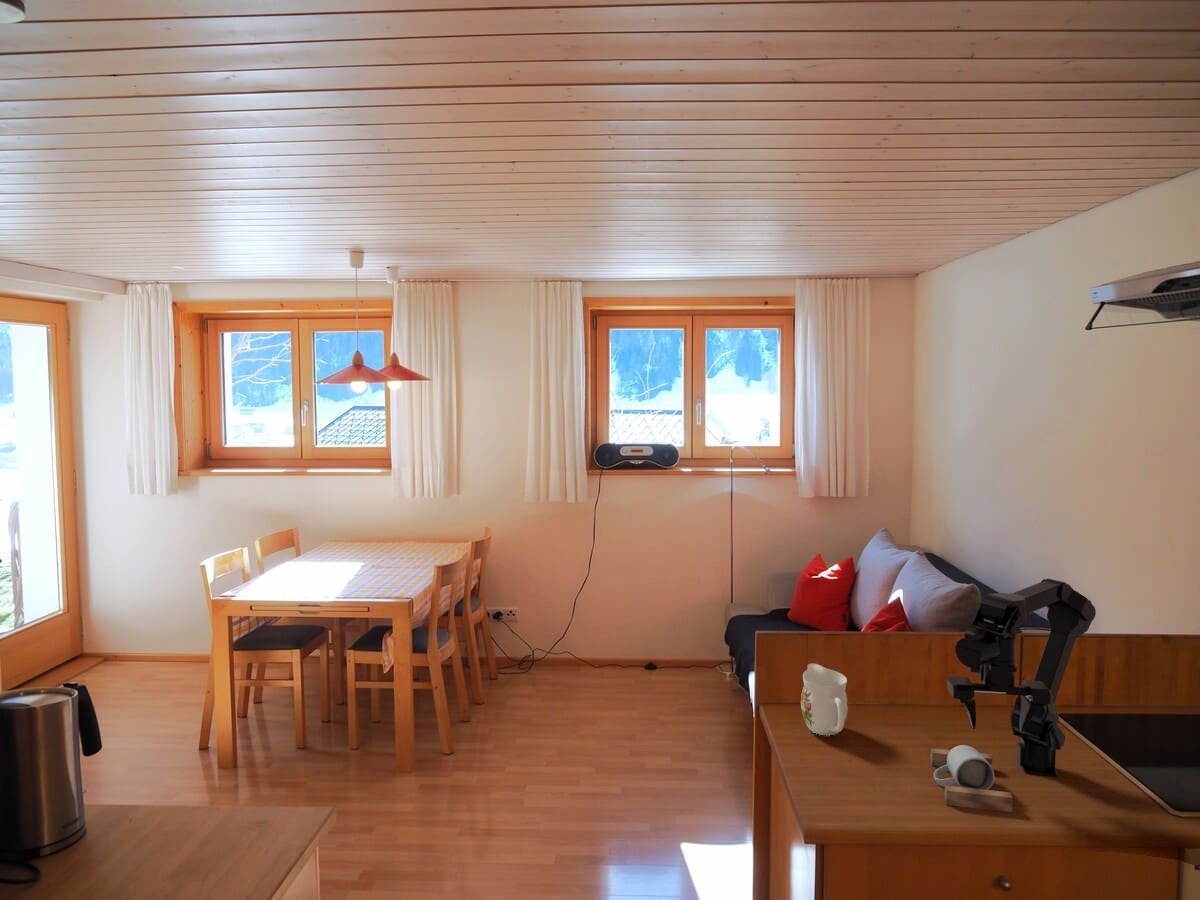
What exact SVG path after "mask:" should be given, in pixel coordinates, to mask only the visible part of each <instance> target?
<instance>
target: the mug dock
mask: <svg viewBox="0 0 1200 900" xmlns="http://www.w3.org/2000/svg"><path fill="white" fill-rule="evenodd" d="M950 750H951V749H949V750H948V749H939V748H930V761H929V762H930V764H931V767H938V768H940V767H942V766H944V765H947V756H948V753H949V752H950ZM979 753H980V752H979ZM980 754H981V755H982V756H983V757H984V758H985V759H986V760H987V761H988V762H989V763H990V765H991V766H992V767H993V758H992V755H991V754H990V753H982V752H981V753H980ZM943 798H944V799H943V800H944V802H945V805H946V806H954V807H962V808H971V809H980V810H989V811H990V810H991V811H998V812H1005V813H1006V812H1007V813H1013V803H1014V802H1013V800H1014V797H1013V795H1012V794H1011V792H1010V791H1002V790H1001V791H999V790H991V789H989V790H983V789H973V788H964V787H959V786H955V785H952V786H944V797H943Z"/></svg>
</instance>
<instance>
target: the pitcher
mask: <svg viewBox="0 0 1200 900" xmlns="http://www.w3.org/2000/svg"><path fill="white" fill-rule="evenodd" d="M802 680H803V688H802V691H801V695H800V708H801V709H800V710H801V714H802V717H803V719H804V722H805V724H806V726H807V728H808V729H809V731H810V730H811V731H812V732H811V731H810V732H811V733H813V734H814V733H816V734H815V735H817V734H819V735H818V736H820V735H826V736H825V737H831V736H830V735H834V736H836V735H838V733H840V732H841V731H842V730H843V729H844V727H845V722H846V719H847V717H848V710H849V698H848V695H847V692H846V687H847V683H848V678H847V677H846V675H844V674H843V673H841V672H839V671H836V670H833V669H830V668H826V667H824V666H823V665H820V664H817V663H808V664H807V669H806V670H805V671H803V673H802ZM835 734H836V735H835ZM827 735H828V736H827Z"/></svg>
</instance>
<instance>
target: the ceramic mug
mask: <svg viewBox="0 0 1200 900" xmlns="http://www.w3.org/2000/svg"><path fill="white" fill-rule="evenodd" d="M949 750H950V752H949V753H948V756H947V765H944V766H942V767H938V768H937V769H935V771H934V772H933V778H934V780H935V783H936V784H937V785H939V786H940V787H945V786H955V785H958V786H957V787H964V788H973V789H983V790H991V788H992V787H993V785H994V782H995V771H994V769H993V765H992V766H991V765H990V763H989V762H988V761H987V760H986V759H985V758H984V757H983V756H982V755H981V754H980V752H979V750H977V749H976V748H974V747H972V746H970V745H966V744H960V745H957V746H955V747H953V748H951V749H949ZM947 773H950V774H951V776H952V777H948V778H940V777H941V776H942V775H944V774H947Z"/></svg>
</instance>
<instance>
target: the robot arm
mask: <svg viewBox="0 0 1200 900" xmlns="http://www.w3.org/2000/svg"><path fill="white" fill-rule="evenodd" d="M1043 608H1047V613H1046V618H1047V621H1048V625H1049V629H1050V630H1049V631H1050V632H1049V634H1048V637H1047V640H1046V643H1045V646H1044V649H1043V652H1042V655H1041V658H1040V660H1039V661H1040V662H1039V664H1038V667H1037V670H1036V673H1035V675H1034V679H1033V680H1030V679H1029V680H1025V679H1024V680H1023V681H1022V682H1021V685H1015V676H1016V675H1015V674H1016V673H1017V666H1016V647H1017V645H1016V644H1017V635H1021V634H1022V633H1023V630H1022V629H1020V627H1019V626H1020V625H1022V624H1023V623H1024V622H1026V620H1027V619H1026V618H1027V616H1028V615H1029V614H1031V613H1034V612H1035V611H1038V610H1040V609H1043ZM1096 612H1097V611H1096V607H1095V606H1094V605H1093V603H1092V601H1091V600H1090V599H1088V598H1087V596H1084V595H1083V594H1082V593H1080V592H1078V591H1076V590H1075V589H1073V587H1072V585H1070V584H1068V583H1067V582H1065V581H1061V580H1057V579H1052V578H1043V579H1042V580H1041V581H1040V582H1038V583H1035V584H1033V585H1030V586H1028V587H1025V588H1022V589H1020V590H1017V591H1015V592H1012V593H1005V592H1004V593H1002V592H1000V593H999V592H997V593H995V592H993V593H989V594H988V593H987V594H986V595H984V596H983V598H982V599H981V600H980V602H979V604H978V605H977V608H976V610H975V612H974V614H973V616H972V619H971V621H970V624H969V626H968V627H969V628H970V629H973V630H972V631H971V630H968V631H965V632H964V637H963V638H960V639H959V640H958V641H957V643H956V645H955V646H954V647H955V650H954V651H955V654H956V657H957V659H958V661H959V662H960V663H961V664H963V665H964V666H966V667H967V672H968V673H976V677H977V678H979V681H980V682H982V683H977V682H975V683H974V682H971V680H970V679H969V677H968V676H949V678H948V679H947V680H946V681H947V684H946V685H947V687H946V688H947V690H948V692H949V694H950V695H951V696H952V697H951V698H953V699H955V700H958V701H959V703H961V704H963V705H964V706H965V709H966V713H967V716H968V719H969V722H970V725H971V727H972V729H973V730H976V725H977V715H976V714H977V711H976V709H977V708H976V707H977V706H976V705H977V704H976V703H977V701H976V700H975V699H974V698H975V694H987V695H988V694H989V695H1005V696H1006V695H1007V696H1017V697H1016V698H1015V702H1014V705H1013V708H1012V710H1011V712H1010V718H1009V720H1010V725H1011V729H1012V733H1013V736H1015V737H1017V738H1018V737H1019V738H1020V739H1019V740H1020V741H1019V742H1017V746H1016V747H1017V749H1016V762H1017V763H1018V764H1019V767H1021V769H1022V770H1023V772H1024V773H1025V774H1032V775H1034V774H1035V775H1044V776H1053V777H1058V775H1059V773H1058V771H1057V770H1056V759H1057V757H1056V756H1057V755H1056V754H1057V753H1056V752H1057V751H1060V750H1062V747H1063V746H1064V744H1065V741H1066V735H1065V733H1064V732H1063V731H1062V730H1061V728H1060V727H1059V726H1058V724H1059V723H1058V722H1059V719H1060V716H1059V712H1058V709H1057V706H1056V699H1057V696H1058V694H1059V691H1060V687H1061V684H1062V681H1063V678H1064V676H1065V672H1066V670H1067V666H1068V663H1069V660H1070V658H1071V654H1072V651H1073V648H1074V645H1075V642H1076V640H1077V639H1079V638H1080V637H1081V636H1082V635H1084V634H1085V633H1087V632H1088V630H1089V629H1090V626H1091V625H1092V623H1093V621H1094V620H1095V617H1096ZM983 621H984V622H983ZM987 622H988V623H987ZM990 623H991V624H990ZM994 624H995V625H994Z"/></svg>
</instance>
